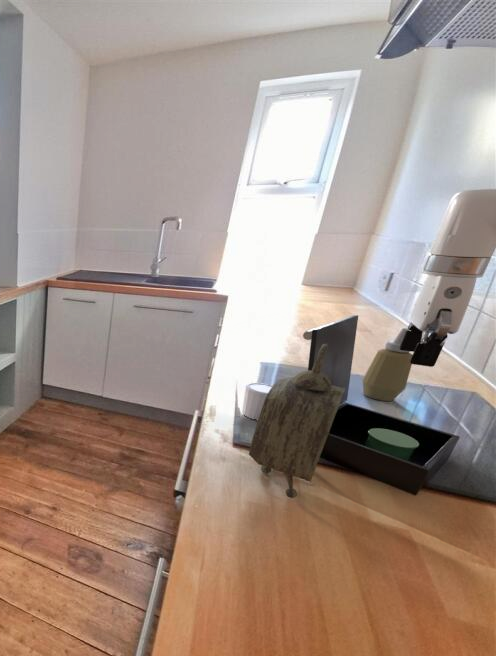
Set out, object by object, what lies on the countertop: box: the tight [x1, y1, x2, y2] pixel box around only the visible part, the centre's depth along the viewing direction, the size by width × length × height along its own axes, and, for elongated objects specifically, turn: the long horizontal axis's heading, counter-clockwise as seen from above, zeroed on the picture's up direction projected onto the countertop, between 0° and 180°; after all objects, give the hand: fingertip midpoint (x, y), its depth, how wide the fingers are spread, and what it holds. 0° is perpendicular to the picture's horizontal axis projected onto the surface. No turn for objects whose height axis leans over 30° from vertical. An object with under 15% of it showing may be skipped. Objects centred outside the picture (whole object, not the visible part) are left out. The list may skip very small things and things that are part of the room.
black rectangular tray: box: [319, 401, 461, 496], centre depth 79 cm, size 18×20×6 cm
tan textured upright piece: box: [248, 344, 345, 499], centre depth 70 cm, size 14×9×25 cm, turn 136°
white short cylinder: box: [241, 382, 273, 420], centre depth 95 cm, size 7×7×7 cm
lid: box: [302, 314, 359, 405], centre depth 84 cm, size 18×20×5 cm
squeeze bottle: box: [362, 327, 413, 402], centre depth 102 cm, size 8×8×18 cm
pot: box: [365, 428, 419, 461], centre depth 77 cm, size 7×7×5 cm
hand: (415, 357), depth 79 cm, fingers open, 9 cm apart
